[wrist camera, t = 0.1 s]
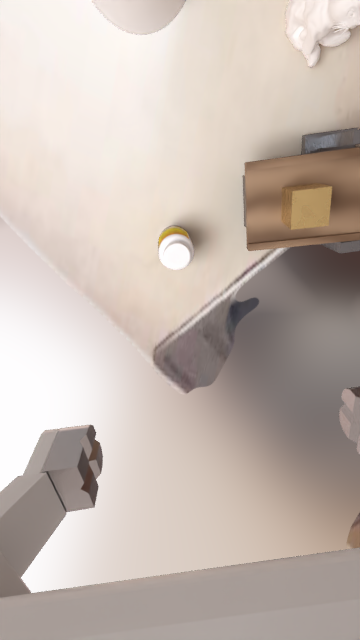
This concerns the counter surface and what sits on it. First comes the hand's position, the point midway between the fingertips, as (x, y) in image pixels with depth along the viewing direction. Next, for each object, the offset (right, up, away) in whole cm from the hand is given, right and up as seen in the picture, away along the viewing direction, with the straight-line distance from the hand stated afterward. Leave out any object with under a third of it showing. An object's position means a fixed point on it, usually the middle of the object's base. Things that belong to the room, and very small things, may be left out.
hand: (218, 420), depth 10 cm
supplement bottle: (-2, +17, +44) cm, 47 cm away
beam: (+23, +21, +33) cm, 46 cm away
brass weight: (+15, +20, +33) cm, 42 cm away
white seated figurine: (+16, +43, +32) cm, 56 cm away
